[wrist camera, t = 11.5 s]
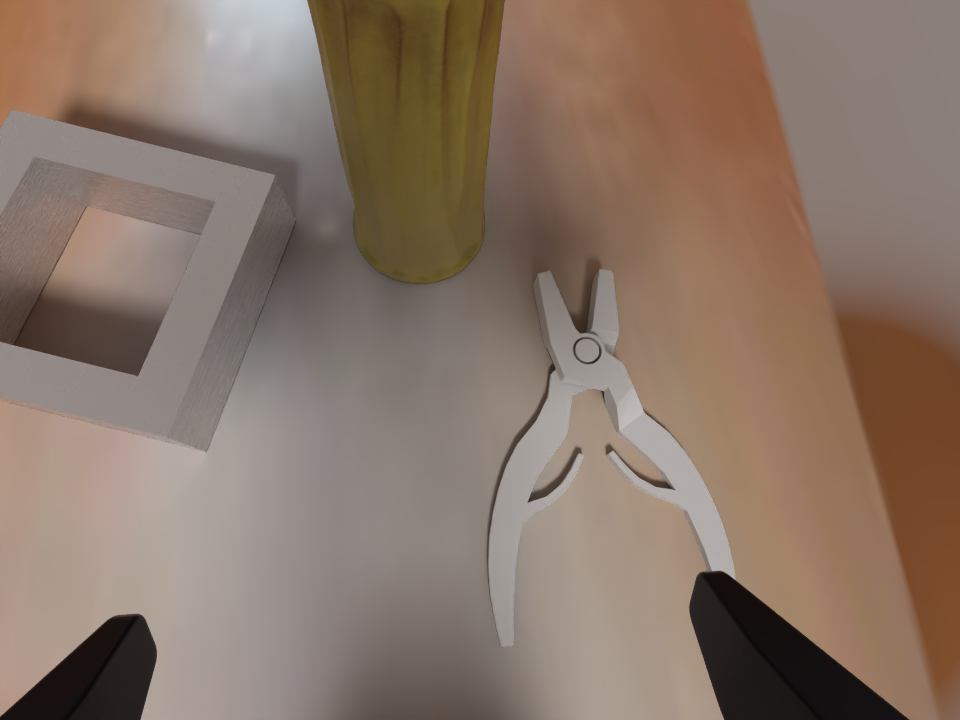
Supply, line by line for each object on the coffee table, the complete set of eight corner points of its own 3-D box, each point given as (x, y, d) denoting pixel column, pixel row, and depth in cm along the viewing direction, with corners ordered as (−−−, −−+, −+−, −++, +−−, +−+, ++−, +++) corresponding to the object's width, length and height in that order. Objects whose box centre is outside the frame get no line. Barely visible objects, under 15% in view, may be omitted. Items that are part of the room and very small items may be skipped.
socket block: (206, 451, 23) (167, 437, 20) (-58, 386, 23) (-142, 360, 20) (296, 221, 26) (275, 174, 23) (66, 163, 26) (12, 109, 23)
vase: (472, 164, 28) (505, -190, 14) (495, 276, 26) (560, -6, 13) (347, 178, 27) (257, -182, 14) (363, 294, 25) (278, 16, 12)
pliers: (497, 652, 20) (464, 273, 25) (492, 644, 22) (463, 289, 26) (757, 624, 21) (681, 263, 26) (735, 618, 23) (668, 279, 27)
